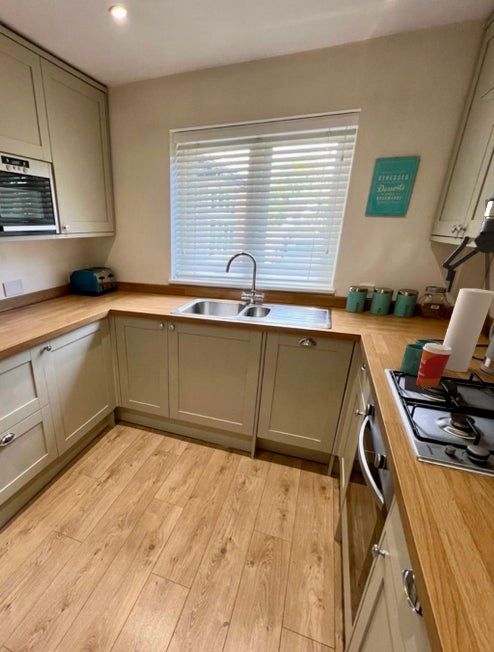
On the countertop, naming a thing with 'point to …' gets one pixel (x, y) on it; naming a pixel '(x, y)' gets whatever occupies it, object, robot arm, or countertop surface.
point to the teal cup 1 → (412, 359)
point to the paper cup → (432, 364)
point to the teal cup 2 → (424, 342)
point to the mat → (415, 386)
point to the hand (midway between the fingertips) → (475, 294)
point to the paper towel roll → (466, 326)
